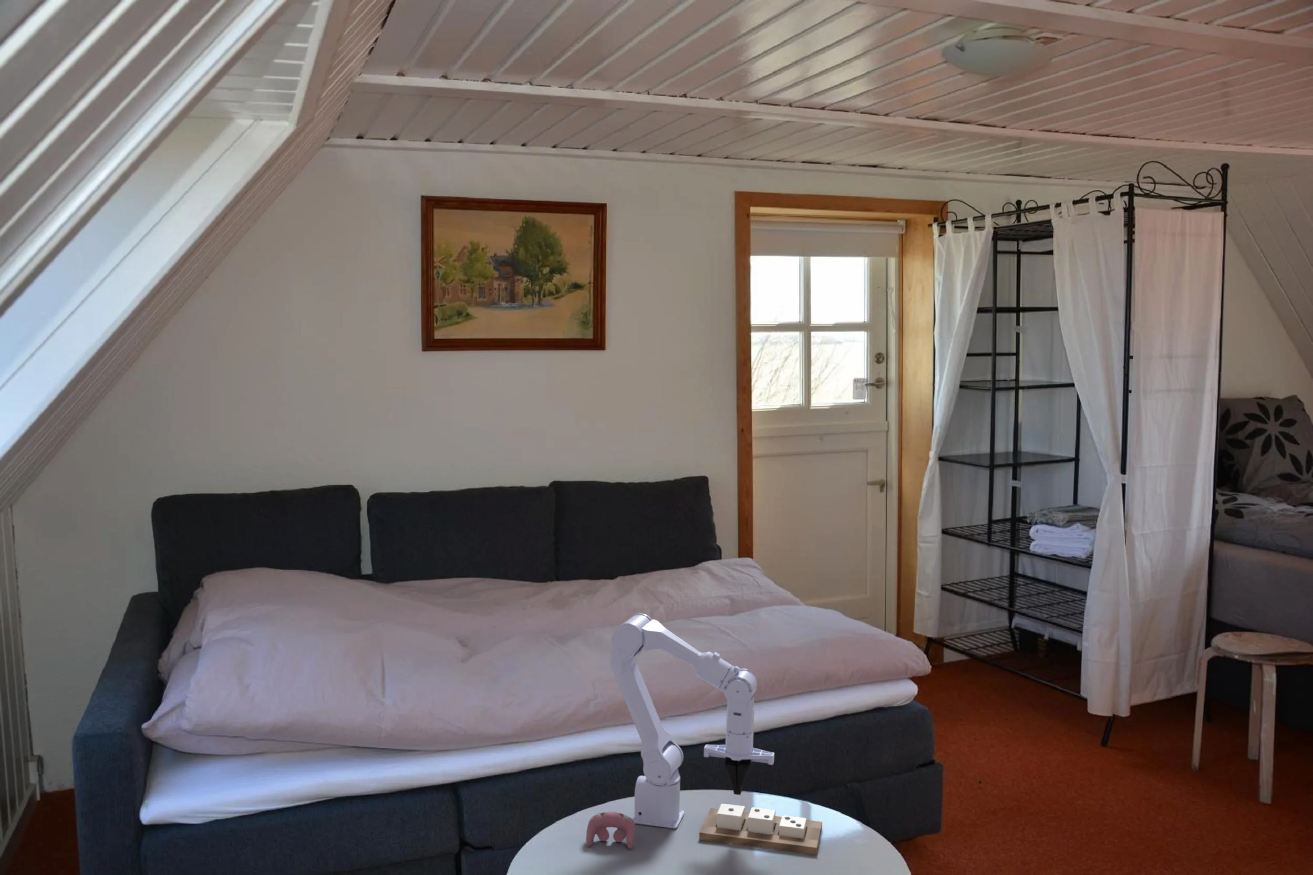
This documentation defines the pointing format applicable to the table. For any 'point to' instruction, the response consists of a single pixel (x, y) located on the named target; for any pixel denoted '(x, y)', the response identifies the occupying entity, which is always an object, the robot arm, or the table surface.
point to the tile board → (762, 835)
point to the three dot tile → (792, 827)
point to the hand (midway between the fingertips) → (737, 792)
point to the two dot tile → (761, 820)
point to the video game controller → (611, 820)
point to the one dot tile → (730, 816)
